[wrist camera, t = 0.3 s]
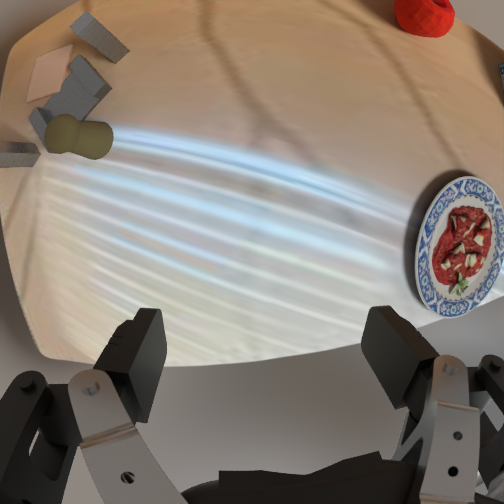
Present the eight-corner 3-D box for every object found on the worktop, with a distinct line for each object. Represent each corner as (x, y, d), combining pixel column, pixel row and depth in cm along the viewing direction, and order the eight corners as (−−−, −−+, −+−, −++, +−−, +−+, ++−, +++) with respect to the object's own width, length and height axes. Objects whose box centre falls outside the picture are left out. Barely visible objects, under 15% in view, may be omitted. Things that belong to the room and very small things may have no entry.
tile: (38, 58, 29) (37, 57, 28) (74, 44, 29) (72, 43, 28) (27, 103, 31) (25, 102, 31) (61, 92, 31) (59, 91, 31)
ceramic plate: (430, 152, 34) (440, 151, 31) (509, 204, 36) (518, 206, 33) (387, 303, 40) (395, 310, 37) (473, 319, 42) (481, 325, 39)
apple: (436, 52, 29) (475, 30, 17) (392, 42, 29) (428, 10, 17) (419, 12, 27) (451, -15, 15) (376, 0, 27) (403, -35, 15)
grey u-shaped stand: (140, 61, 31) (105, 28, 19) (40, 179, 35) (-8, 184, 23) (112, 34, 29) (77, 3, 17) (20, 145, 33) (-24, 143, 22)
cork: (116, 151, 34) (73, 144, 24) (85, 165, 35) (40, 164, 24) (110, 115, 33) (69, 99, 22) (80, 131, 33) (36, 121, 23)
